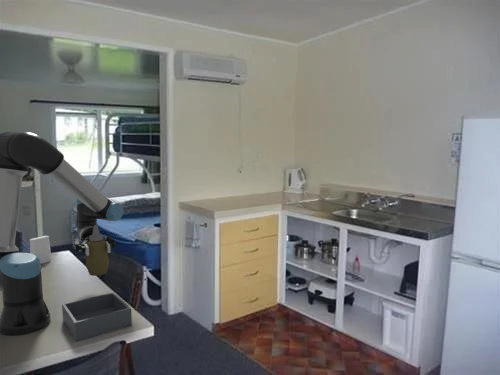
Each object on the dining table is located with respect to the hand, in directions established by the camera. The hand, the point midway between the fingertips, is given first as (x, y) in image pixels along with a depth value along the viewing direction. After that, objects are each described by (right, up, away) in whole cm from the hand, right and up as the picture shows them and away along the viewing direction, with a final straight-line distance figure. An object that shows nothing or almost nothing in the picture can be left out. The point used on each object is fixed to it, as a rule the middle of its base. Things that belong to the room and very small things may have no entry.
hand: (98, 250), depth 146 cm
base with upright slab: (-52, -15, +62) cm, 82 cm away
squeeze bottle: (-2, -10, +6) cm, 11 cm away
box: (+2, -23, -7) cm, 24 cm away
